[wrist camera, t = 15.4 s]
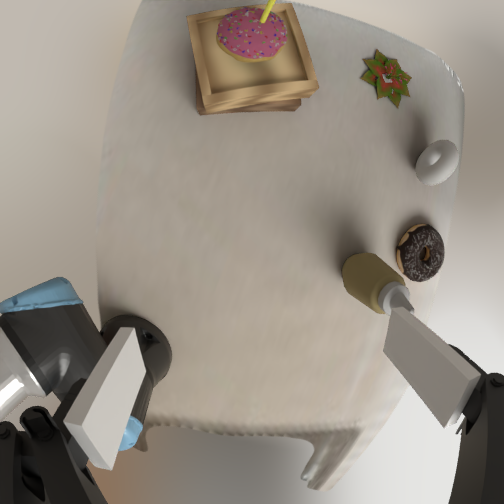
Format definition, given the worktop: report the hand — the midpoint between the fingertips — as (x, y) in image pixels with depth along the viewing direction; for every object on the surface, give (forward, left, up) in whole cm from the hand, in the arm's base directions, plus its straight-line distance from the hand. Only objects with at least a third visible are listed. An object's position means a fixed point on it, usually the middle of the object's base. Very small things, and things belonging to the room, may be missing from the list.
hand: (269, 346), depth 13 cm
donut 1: (+34, +12, -33) cm, 49 cm away
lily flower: (+28, +28, -33) cm, 52 cm away
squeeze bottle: (+20, -8, -33) cm, 39 cm away
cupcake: (+2, +26, -24) cm, 36 cm away
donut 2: (+34, -6, -33) cm, 48 cm away
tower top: (+2, +26, -28) cm, 39 cm away
